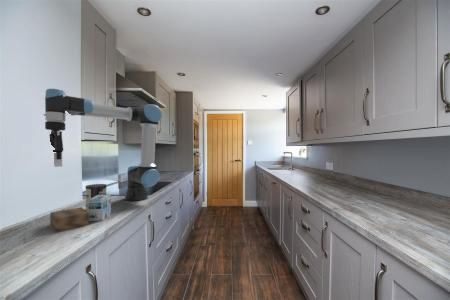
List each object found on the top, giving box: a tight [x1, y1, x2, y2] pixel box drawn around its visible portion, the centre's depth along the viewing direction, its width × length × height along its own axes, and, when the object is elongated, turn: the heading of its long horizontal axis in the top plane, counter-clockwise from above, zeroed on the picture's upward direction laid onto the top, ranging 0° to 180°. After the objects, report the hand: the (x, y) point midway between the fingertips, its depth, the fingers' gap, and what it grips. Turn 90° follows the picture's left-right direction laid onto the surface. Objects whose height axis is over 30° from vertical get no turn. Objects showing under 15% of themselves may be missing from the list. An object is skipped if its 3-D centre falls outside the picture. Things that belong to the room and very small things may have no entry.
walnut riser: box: [49, 206, 90, 233], centre depth 94 cm, size 12×12×6 cm
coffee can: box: [85, 183, 107, 212], centre depth 118 cm, size 10×10×14 cm
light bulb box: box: [89, 194, 112, 222], centre depth 105 cm, size 11×7×11 cm, turn 9°
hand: (55, 165), depth 99 cm, fingers open, 13 cm apart
